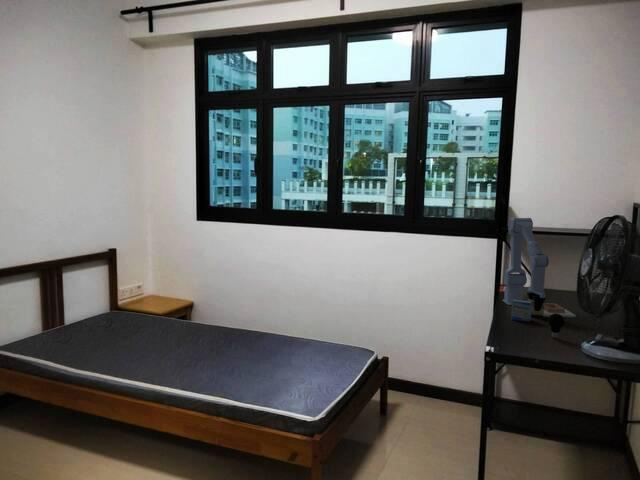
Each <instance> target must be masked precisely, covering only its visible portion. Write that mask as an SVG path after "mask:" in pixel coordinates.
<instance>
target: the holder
mask: <svg viewBox="0 0 640 480" xmlns="http://www.w3.org/2000/svg"><path fill="white" fill-rule="evenodd" d="M552 314H560V315H561V316H563V318H577V315H576V314H574V313H572V312H571V311H569V310H568V309H566V308H564V307H562V306H560V305H559V304H557V303H551V302H549V303H547V302H545V303H544V315H542V316H543V317H545V318H546V317H547V318H549V316H550V315H552Z"/></svg>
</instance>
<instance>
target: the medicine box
mask: <svg viewBox="0 0 640 480" xmlns="http://www.w3.org/2000/svg"><path fill="white" fill-rule="evenodd" d="M531 309H532V302H531V301H528V300H522V299H521V300H515V299H513V302H512V305H511V317H510V319H511V320H512V321H519V322H526V323H530V322H531V320H532V314H531Z"/></svg>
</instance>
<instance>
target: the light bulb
mask: <svg viewBox="0 0 640 480" xmlns="http://www.w3.org/2000/svg"><path fill="white" fill-rule="evenodd" d="M547 318H548V319H547V322H548V325H549V326H550V331H551V336H552V338H554V339H557V338H559V337H560V336H559V335H560V332H561V329H562V328H563V327H564V325H565V321H566V320H565V317H563V316H561V315H560V314H552V315H550V316H549V317H547Z"/></svg>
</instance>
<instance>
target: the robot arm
mask: <svg viewBox="0 0 640 480" xmlns="http://www.w3.org/2000/svg"><path fill="white" fill-rule="evenodd" d="M533 227H534V222H533V220H532V218H531V217H511V218H510V219H509V221H508V227H507V228H508V229H507V230H508V234H509V235H510V265H509V266H510V267H507V269H505V270H504V275H503V282H504V283H503V284H504V285H505V288H504V294H503V295H504V297H503V299H502V302H504V303H505V304H507V305H508V306H512V302H513V299H515V300H522V298H523V297H522V295H523V288H524V287H525V286H526V284H527V282H528V279H527V272H526V270H525V269H523V268H522V237H523V238H524V241H525V242H526V247H525V248H526V251H527V253H528V255H529V257H530V258H529V265H530V267H529V269H530V271H531V273H530V286H528V289H527V290H526V291H527V292H526V294H527V296H528V299H533V300H534V308H535V311H540V310H541V307H542V304H543V302H545V301H546V299H547V297H546V293H545V281H546V280H545V278H546V268H548V266H549V262H550V261H549V257H548V255H547V254H546V253H545V252H543V249H542V248H541V246H540V243H539V242H538V241H536V240H535V235H534V233H533Z"/></svg>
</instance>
